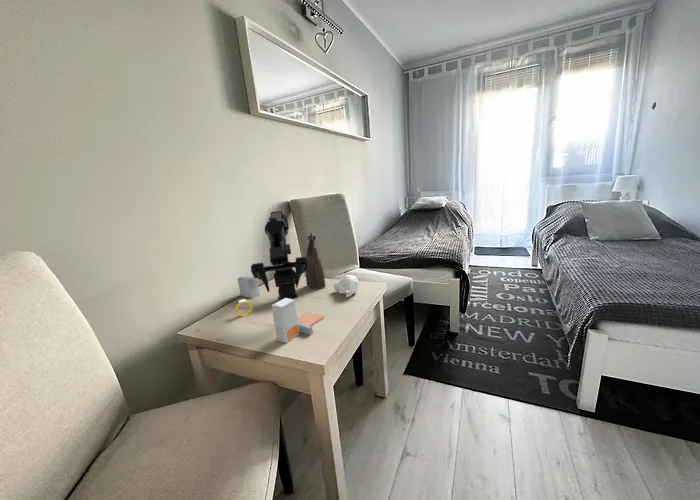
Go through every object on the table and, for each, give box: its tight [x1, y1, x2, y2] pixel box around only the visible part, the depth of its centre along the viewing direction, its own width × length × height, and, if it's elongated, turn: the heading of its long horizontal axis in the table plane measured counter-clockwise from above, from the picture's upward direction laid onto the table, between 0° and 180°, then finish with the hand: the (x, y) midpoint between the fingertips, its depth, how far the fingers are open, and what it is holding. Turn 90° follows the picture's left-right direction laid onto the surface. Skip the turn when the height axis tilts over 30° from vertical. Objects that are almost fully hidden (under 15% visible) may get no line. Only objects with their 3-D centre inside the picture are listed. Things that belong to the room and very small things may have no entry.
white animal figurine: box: [333, 274, 360, 298], centre depth 121 cm, size 6×8×12 cm
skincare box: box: [271, 298, 300, 344], centre depth 90 cm, size 6×4×12 cm
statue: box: [305, 232, 326, 290], centre depth 131 cm, size 9×8×25 cm
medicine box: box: [237, 274, 261, 299], centre depth 130 cm, size 8×4×9 cm, turn 58°
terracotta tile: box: [297, 311, 325, 327], centre depth 101 cm, size 8×8×1 cm
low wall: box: [298, 322, 314, 336], centre depth 96 cm, size 1×14×2 cm, turn 52°
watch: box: [235, 298, 253, 317], centre depth 111 cm, size 6×3×6 cm, turn 133°
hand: (282, 289), depth 96 cm, fingers open, 9 cm apart
